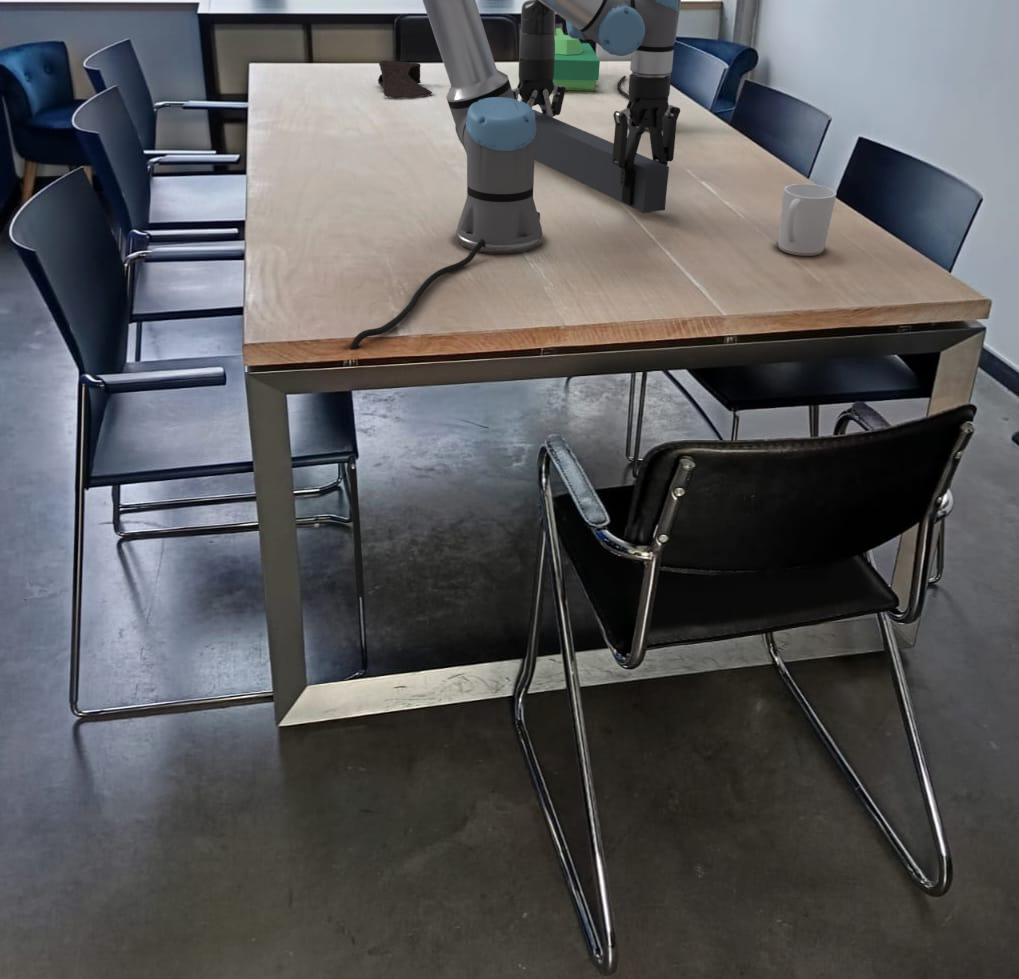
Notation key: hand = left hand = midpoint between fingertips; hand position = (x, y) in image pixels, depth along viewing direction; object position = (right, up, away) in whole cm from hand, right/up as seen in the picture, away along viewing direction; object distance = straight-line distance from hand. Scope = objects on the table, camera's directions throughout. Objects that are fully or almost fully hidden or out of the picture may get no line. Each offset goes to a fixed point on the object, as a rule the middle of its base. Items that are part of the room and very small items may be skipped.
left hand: (639, 200), depth 210 cm
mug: (+26, -13, -16) cm, 33 cm away
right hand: (-20, +22, +29) cm, 41 cm away
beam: (-10, +9, +15) cm, 20 cm away
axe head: (-54, +54, +91) cm, 118 cm away
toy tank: (-10, +63, +107) cm, 125 cm away
